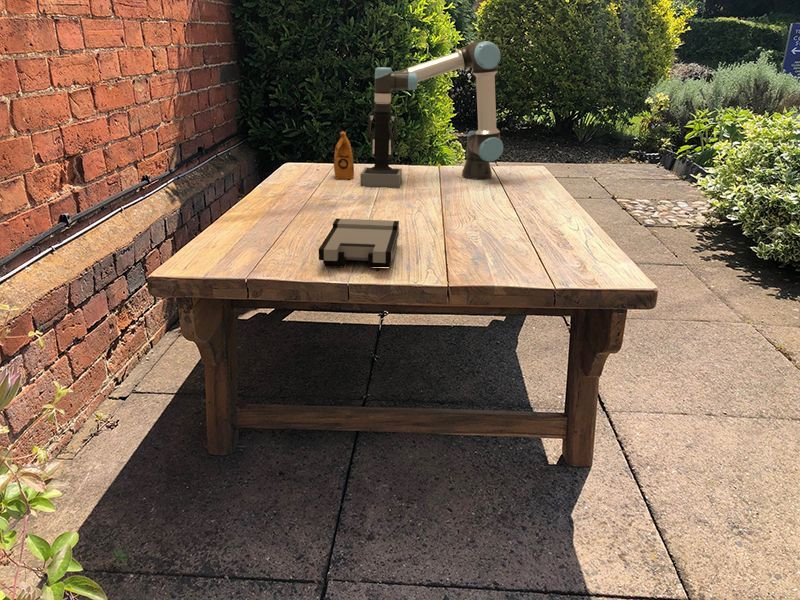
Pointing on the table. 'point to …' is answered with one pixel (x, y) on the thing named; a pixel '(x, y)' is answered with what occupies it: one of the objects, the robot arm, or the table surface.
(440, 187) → the table surface
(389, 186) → the box
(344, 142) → the coffee package
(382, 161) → the black upright pillar
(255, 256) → the table surface
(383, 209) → the table surface
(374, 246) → the office tray
